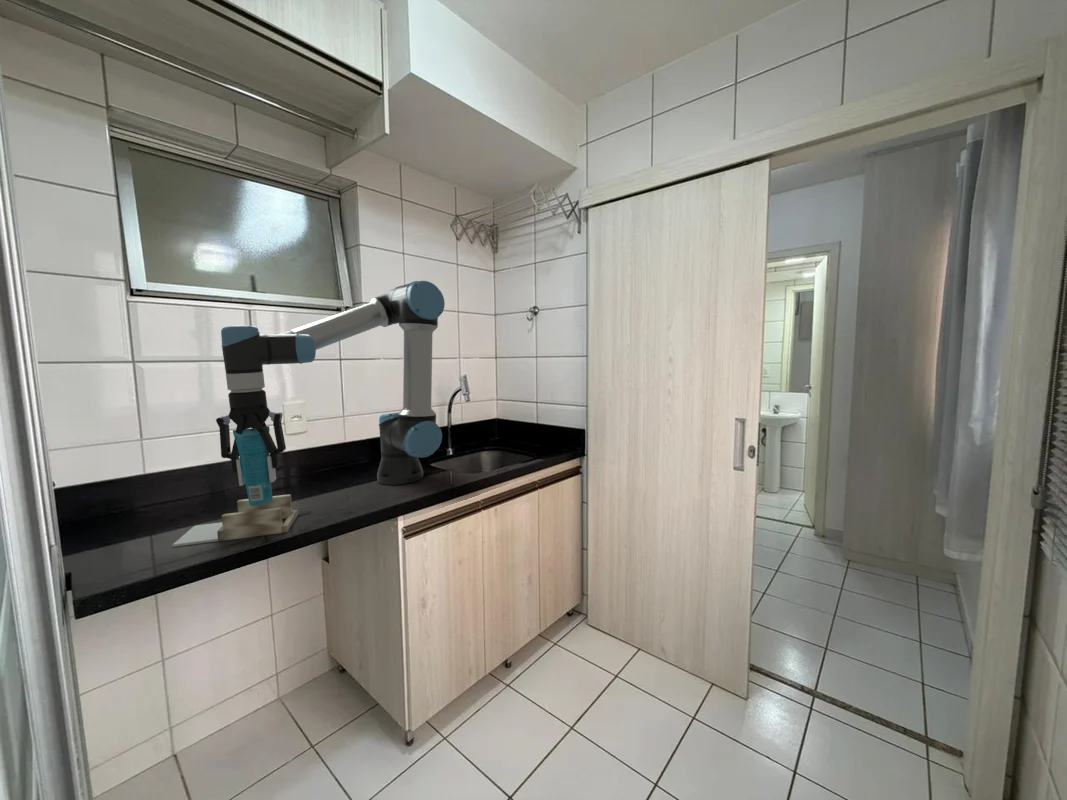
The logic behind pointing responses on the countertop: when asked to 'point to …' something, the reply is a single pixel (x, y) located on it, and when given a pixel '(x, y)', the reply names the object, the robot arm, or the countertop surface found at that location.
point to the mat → (200, 535)
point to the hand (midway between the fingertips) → (258, 482)
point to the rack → (258, 519)
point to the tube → (254, 466)
